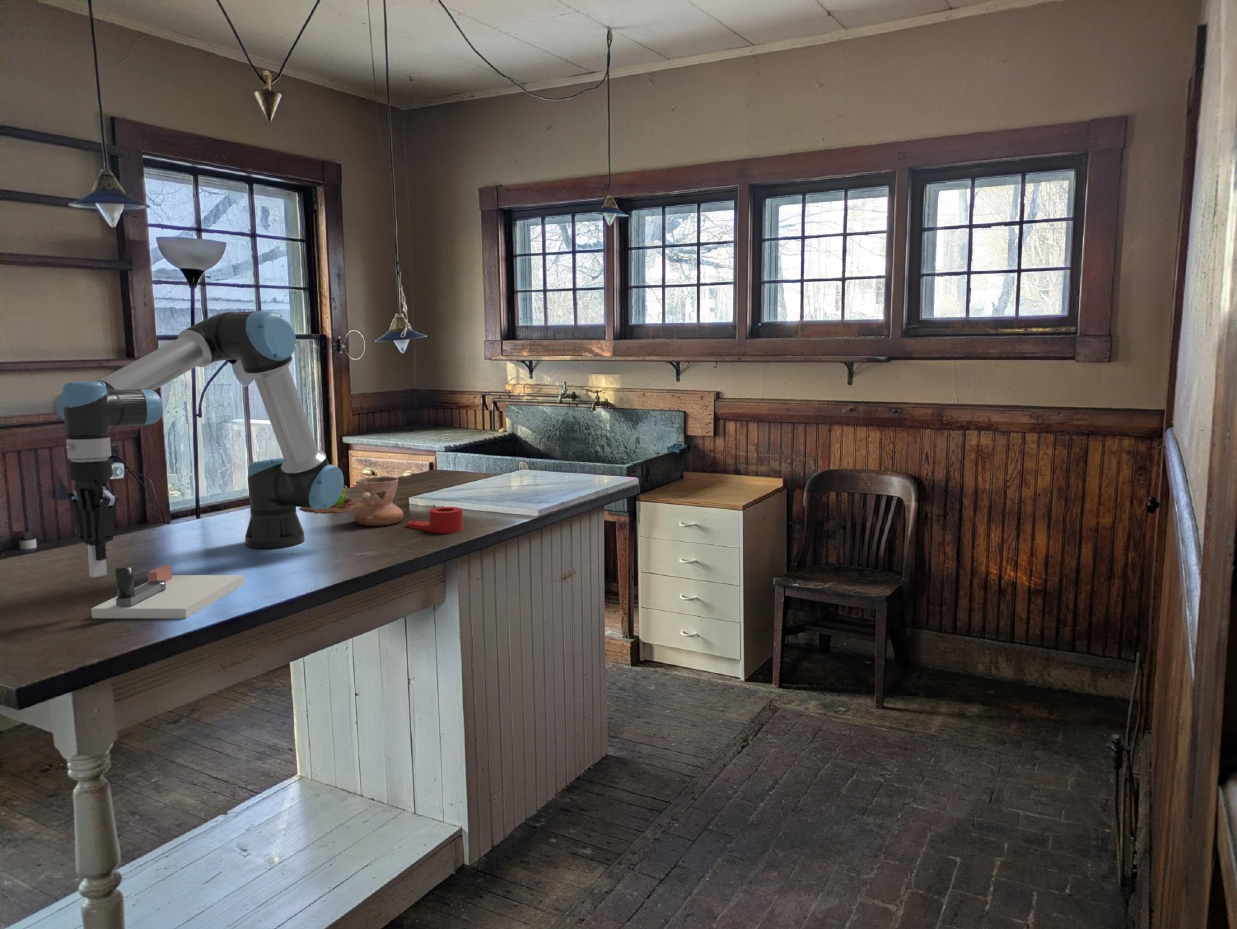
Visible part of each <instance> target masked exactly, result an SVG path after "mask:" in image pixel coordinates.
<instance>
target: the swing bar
mask: <svg viewBox="0 0 1237 929" xmlns="http://www.w3.org/2000/svg"><path fill="white" fill-rule="evenodd" d="M114 569H115V570H114V572H115V584H116V597H117V598H116V606H131V605H133V604H135V603H137V602H139V601H141V600H143V599H145V598H147V597H149V596H151V595H153V594H155V593H157V592H159V591H161V590H165V589H166V581H164V580H156V581H151V582H148V581H147V582H148V583H147V584H145V585H143V586H141V587H139V588H136V587H135V584H134V571H133V566H132V565H122V566H117V567H115V568H114ZM134 588H136V589H134Z"/></svg>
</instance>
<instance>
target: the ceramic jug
mask: <svg viewBox="0 0 1237 929" xmlns="http://www.w3.org/2000/svg"><path fill="white" fill-rule="evenodd" d="M355 484H356V485H355V486H356V489H357V491H358V494H359V496H360V498H361V500H362V503H364V504H363V505H362V506H361V507H360V508H358V509H355V512H354V514H353V519H354V522H355V523H356V524H357V525H359V526H362V527H374V528H375V527H385V526H391V525H395V524H398V523H399V522H401V520H403V518H404V511H403V510H402V509H401V508H400V507H399V506H398V505H396V504H394V503H393V502H394V501H393V500H394V498H395V495H396V493H397V492H396V491H397V490H398V485H399V478H398V477H394V476H389V475H387V476H385V475H384V476H383V475H382V476H368V477H361V478H358V479H356V480H355Z"/></svg>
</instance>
